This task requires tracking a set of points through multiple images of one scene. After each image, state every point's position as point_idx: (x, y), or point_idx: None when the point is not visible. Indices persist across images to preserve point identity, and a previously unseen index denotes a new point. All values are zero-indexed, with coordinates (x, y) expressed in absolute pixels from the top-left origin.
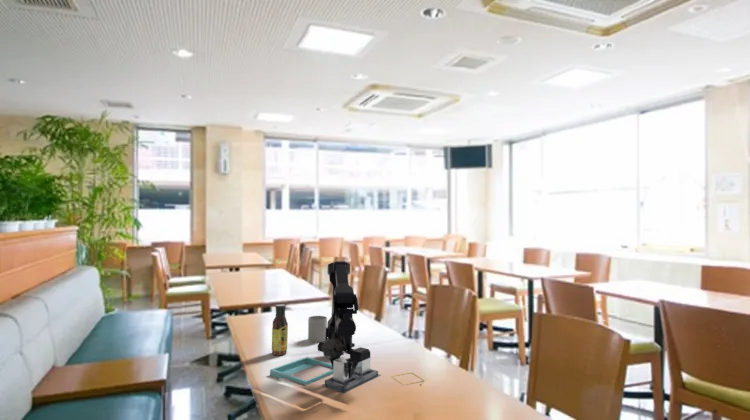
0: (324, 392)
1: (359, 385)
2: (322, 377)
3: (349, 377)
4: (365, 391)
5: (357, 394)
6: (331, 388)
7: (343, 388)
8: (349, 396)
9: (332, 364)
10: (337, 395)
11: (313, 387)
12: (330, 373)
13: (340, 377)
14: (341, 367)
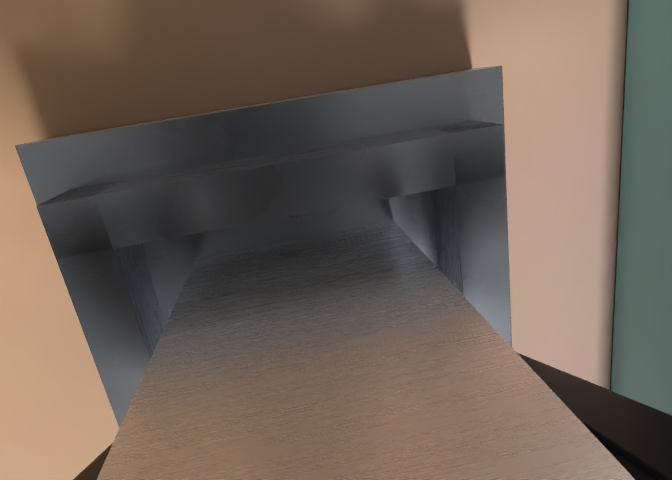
0: (376, 51)
1: None
2: (666, 245)
3: None
4: (75, 447)
5: (50, 335)
6: (294, 110)
7: (72, 196)
8: None
9: (655, 428)
10: None
11: (601, 44)
12: (662, 386)
13: (251, 309)
14: (188, 477)
